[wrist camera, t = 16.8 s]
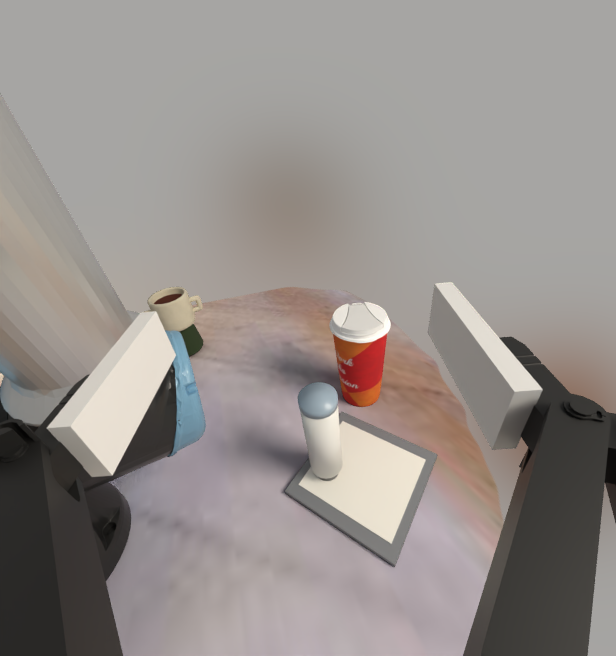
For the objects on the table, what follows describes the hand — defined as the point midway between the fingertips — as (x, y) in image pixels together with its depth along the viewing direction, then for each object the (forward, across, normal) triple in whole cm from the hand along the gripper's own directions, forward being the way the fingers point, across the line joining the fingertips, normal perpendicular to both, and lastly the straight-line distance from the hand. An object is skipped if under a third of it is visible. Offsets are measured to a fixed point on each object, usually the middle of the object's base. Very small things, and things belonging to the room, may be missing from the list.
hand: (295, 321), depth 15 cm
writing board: (+9, +4, -30) cm, 32 cm away
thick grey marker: (+10, 0, -29) cm, 31 cm away
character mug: (+39, -27, -30) cm, 56 cm away
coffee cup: (+23, +6, -30) cm, 38 cm away
